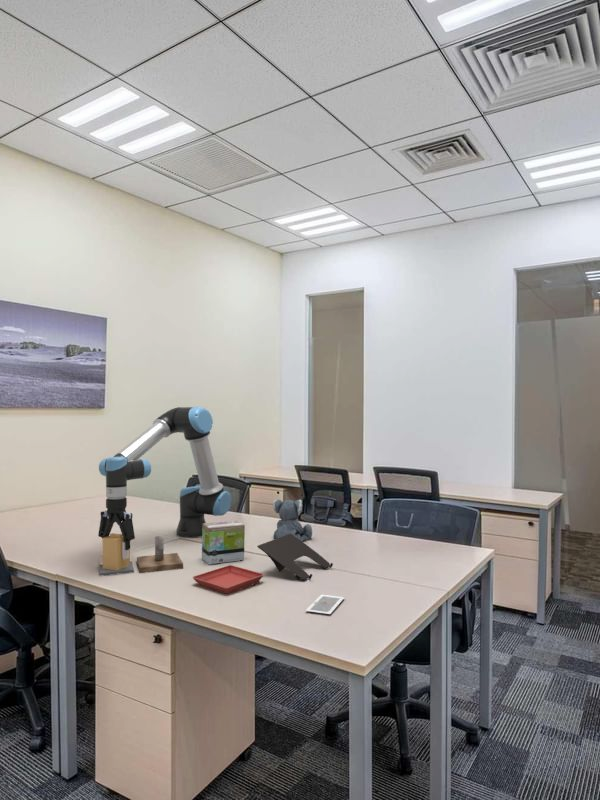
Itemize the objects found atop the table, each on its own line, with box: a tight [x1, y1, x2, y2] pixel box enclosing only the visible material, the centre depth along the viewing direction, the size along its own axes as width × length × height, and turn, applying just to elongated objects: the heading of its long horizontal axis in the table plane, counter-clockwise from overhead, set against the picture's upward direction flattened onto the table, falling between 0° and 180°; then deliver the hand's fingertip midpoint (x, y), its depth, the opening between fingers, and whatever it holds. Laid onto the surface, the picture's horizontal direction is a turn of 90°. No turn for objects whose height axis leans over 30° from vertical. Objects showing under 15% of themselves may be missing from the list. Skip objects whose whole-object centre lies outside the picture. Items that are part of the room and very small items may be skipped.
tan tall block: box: [102, 532, 131, 571], centre depth 206 cm, size 7×7×12 cm
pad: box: [99, 560, 135, 576], centre depth 206 cm, size 12×12×1 cm
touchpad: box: [304, 594, 345, 615], centre depth 167 cm, size 8×15×2 cm, turn 159°
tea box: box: [201, 520, 246, 566], centre depth 219 cm, size 15×10×15 cm, turn 117°
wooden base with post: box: [136, 535, 184, 574], centre depth 212 cm, size 16×16×11 cm
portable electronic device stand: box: [257, 534, 334, 581], centre depth 205 cm, size 23×23×9 cm
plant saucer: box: [192, 564, 265, 595], centre depth 189 cm, size 18×18×3 cm
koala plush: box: [272, 498, 313, 542], centre depth 251 cm, size 17×18×20 cm
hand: (116, 556), depth 206 cm, fingers open, 8 cm apart
